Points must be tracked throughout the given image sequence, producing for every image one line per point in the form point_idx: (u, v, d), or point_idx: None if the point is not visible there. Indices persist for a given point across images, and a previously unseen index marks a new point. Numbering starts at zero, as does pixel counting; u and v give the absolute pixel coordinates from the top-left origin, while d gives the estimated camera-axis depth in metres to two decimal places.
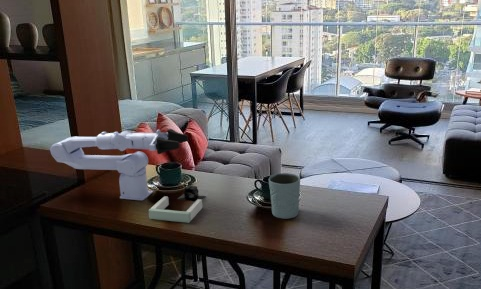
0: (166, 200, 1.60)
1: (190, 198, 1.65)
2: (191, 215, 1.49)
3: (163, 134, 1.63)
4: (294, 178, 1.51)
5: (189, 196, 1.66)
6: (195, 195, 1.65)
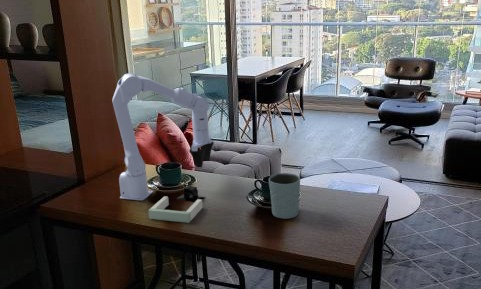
0: (166, 200, 1.60)
1: (189, 198, 1.65)
2: (191, 215, 1.49)
3: None
4: (294, 178, 1.51)
5: (188, 196, 1.66)
6: (194, 196, 1.65)
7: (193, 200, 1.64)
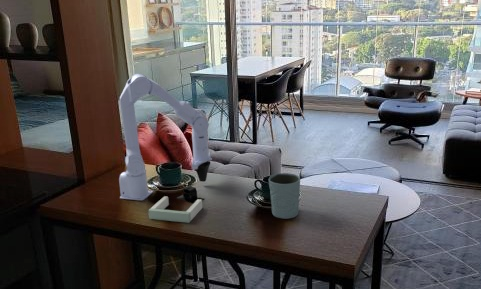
0: (166, 200, 1.60)
1: (187, 199, 1.65)
2: (191, 215, 1.49)
3: None
4: (294, 178, 1.51)
5: (188, 197, 1.66)
6: (192, 196, 1.64)
7: (191, 201, 1.63)
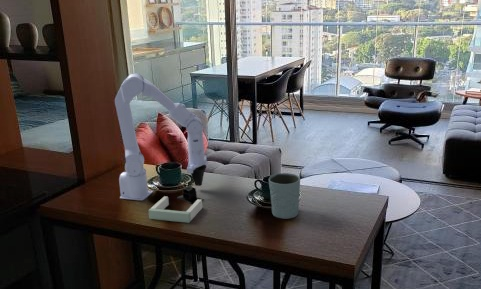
0: (166, 200, 1.60)
1: (187, 199, 1.65)
2: (191, 215, 1.49)
3: None
4: (294, 178, 1.51)
5: (187, 197, 1.66)
6: (191, 197, 1.64)
7: (190, 201, 1.63)
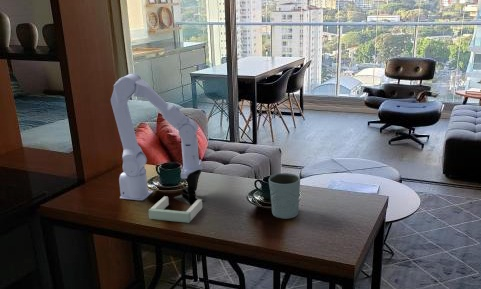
0: (166, 200, 1.60)
1: (186, 199, 1.64)
2: (191, 215, 1.49)
3: None
4: (294, 177, 1.51)
5: (186, 197, 1.65)
6: (190, 197, 1.63)
7: (188, 201, 1.63)
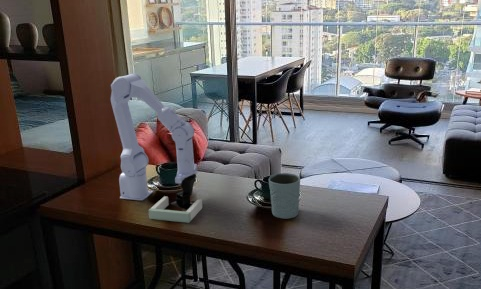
0: (166, 200, 1.60)
1: (180, 205, 1.60)
2: (191, 215, 1.49)
3: None
4: (294, 178, 1.51)
5: (181, 202, 1.61)
6: (185, 202, 1.59)
7: (183, 207, 1.59)
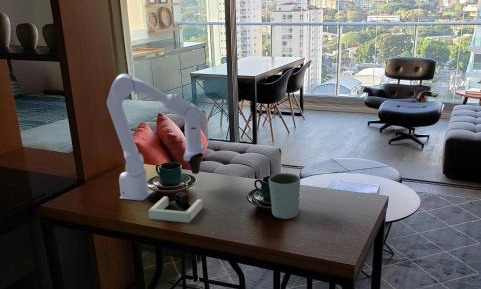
0: (166, 200, 1.60)
1: (178, 205, 1.60)
2: (191, 215, 1.49)
3: None
4: (294, 178, 1.51)
5: (179, 203, 1.61)
6: (183, 203, 1.59)
7: (181, 207, 1.58)
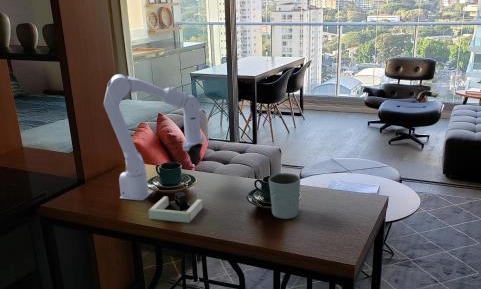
0: (166, 200, 1.60)
1: (177, 205, 1.60)
2: (191, 215, 1.49)
3: None
4: (294, 178, 1.51)
5: (179, 203, 1.61)
6: (181, 203, 1.59)
7: (179, 208, 1.58)
